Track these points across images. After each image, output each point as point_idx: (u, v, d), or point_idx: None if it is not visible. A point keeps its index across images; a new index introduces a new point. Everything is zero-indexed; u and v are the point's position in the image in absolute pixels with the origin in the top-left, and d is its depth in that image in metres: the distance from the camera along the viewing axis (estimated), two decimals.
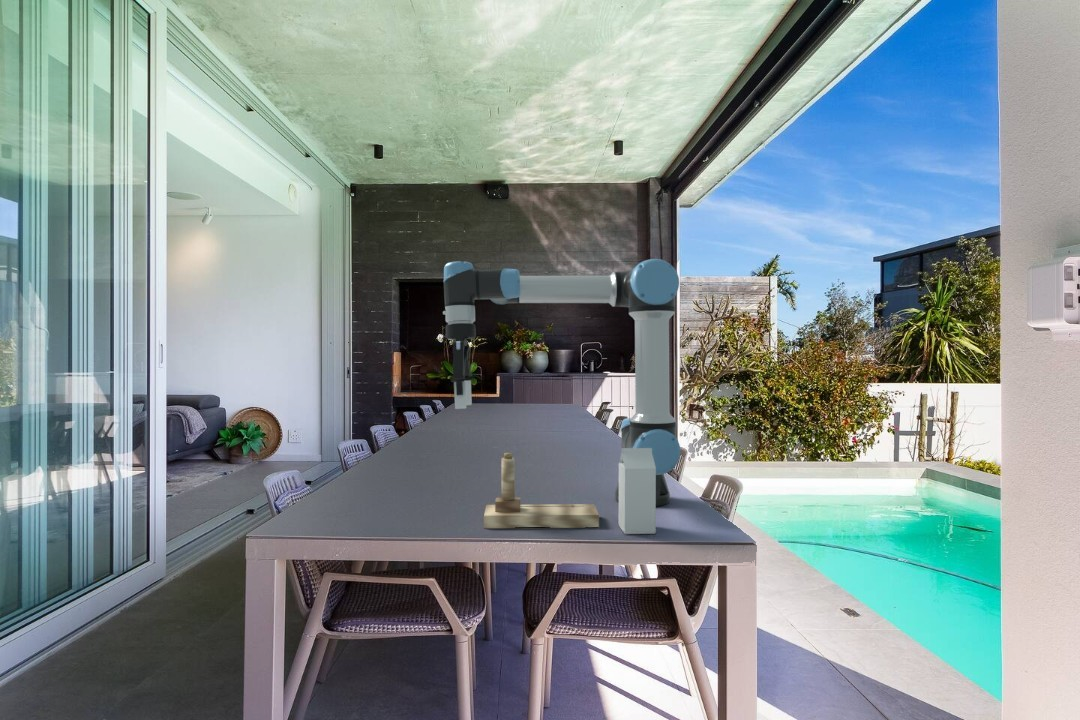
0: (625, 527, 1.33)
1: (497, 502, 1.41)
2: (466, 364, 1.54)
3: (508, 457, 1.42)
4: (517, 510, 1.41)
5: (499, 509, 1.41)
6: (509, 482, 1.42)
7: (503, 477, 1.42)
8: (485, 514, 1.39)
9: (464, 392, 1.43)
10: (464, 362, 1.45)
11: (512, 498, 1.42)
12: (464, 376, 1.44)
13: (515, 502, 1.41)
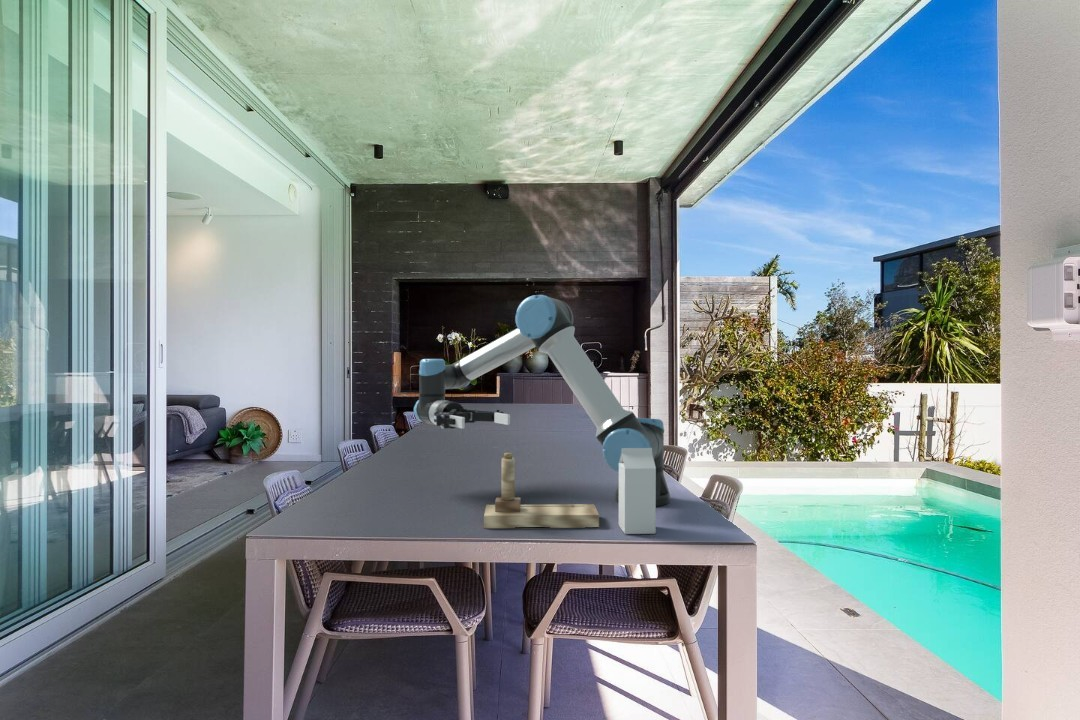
0: (625, 527, 1.33)
1: (497, 502, 1.41)
2: (478, 414, 1.62)
3: (508, 457, 1.42)
4: (517, 510, 1.41)
5: (499, 509, 1.41)
6: (509, 482, 1.42)
7: (503, 477, 1.42)
8: (485, 514, 1.39)
9: (454, 417, 1.50)
10: None
11: (512, 498, 1.42)
12: (448, 415, 1.53)
13: (515, 502, 1.41)
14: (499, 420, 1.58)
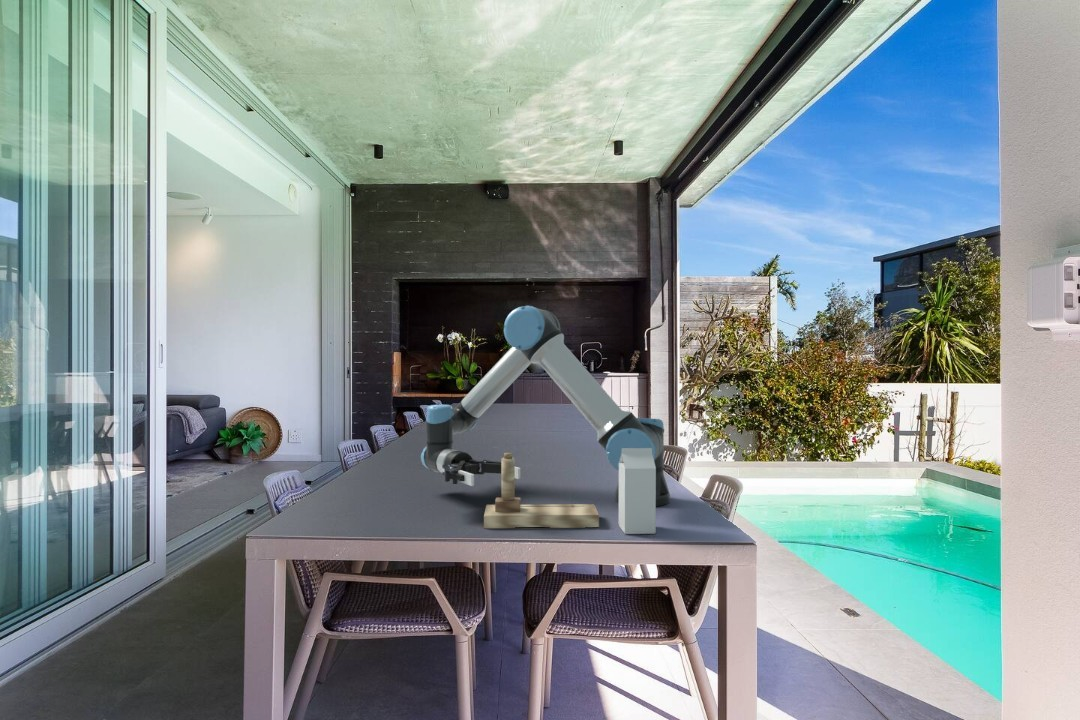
0: (625, 527, 1.33)
1: (497, 502, 1.41)
2: (487, 465, 1.57)
3: (508, 457, 1.42)
4: (517, 510, 1.41)
5: (499, 509, 1.41)
6: (509, 482, 1.42)
7: (503, 477, 1.42)
8: (485, 514, 1.39)
9: (463, 473, 1.45)
10: (456, 467, 1.52)
11: (512, 498, 1.42)
12: (457, 470, 1.49)
13: (515, 502, 1.41)
14: None
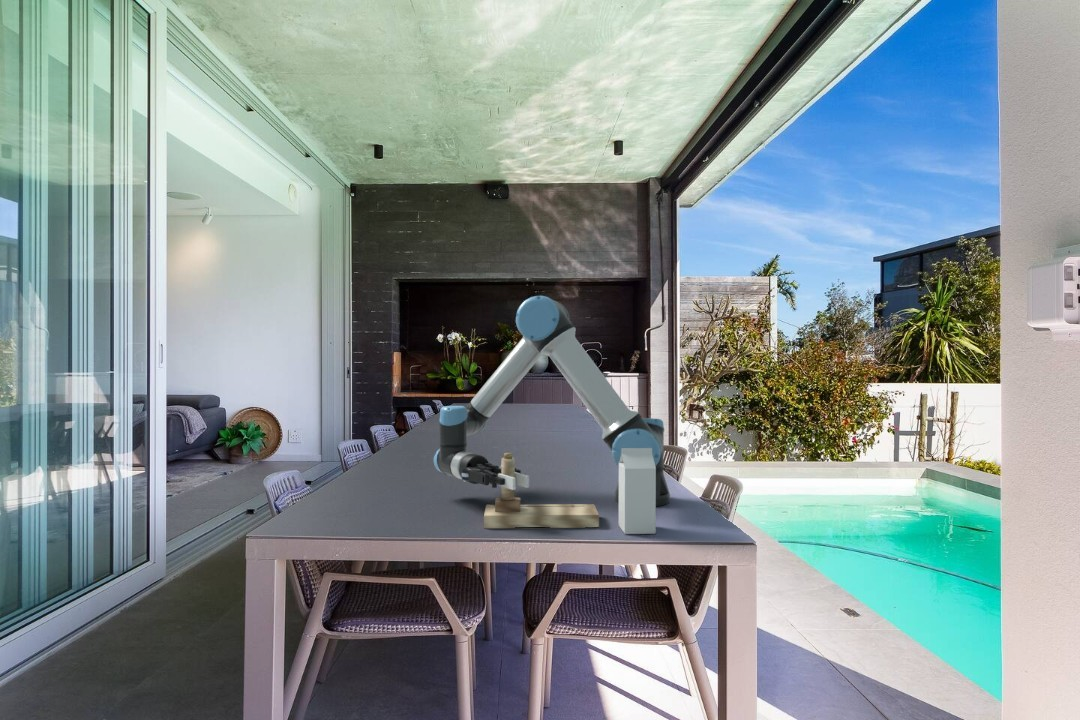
0: (625, 527, 1.33)
1: (497, 502, 1.41)
2: (498, 471, 1.49)
3: (508, 457, 1.42)
4: (517, 510, 1.41)
5: (499, 509, 1.41)
6: None
7: None
8: (485, 514, 1.39)
9: (503, 476, 1.40)
10: (484, 471, 1.47)
11: (512, 498, 1.42)
12: (494, 473, 1.44)
13: (515, 502, 1.41)
14: (517, 482, 1.43)
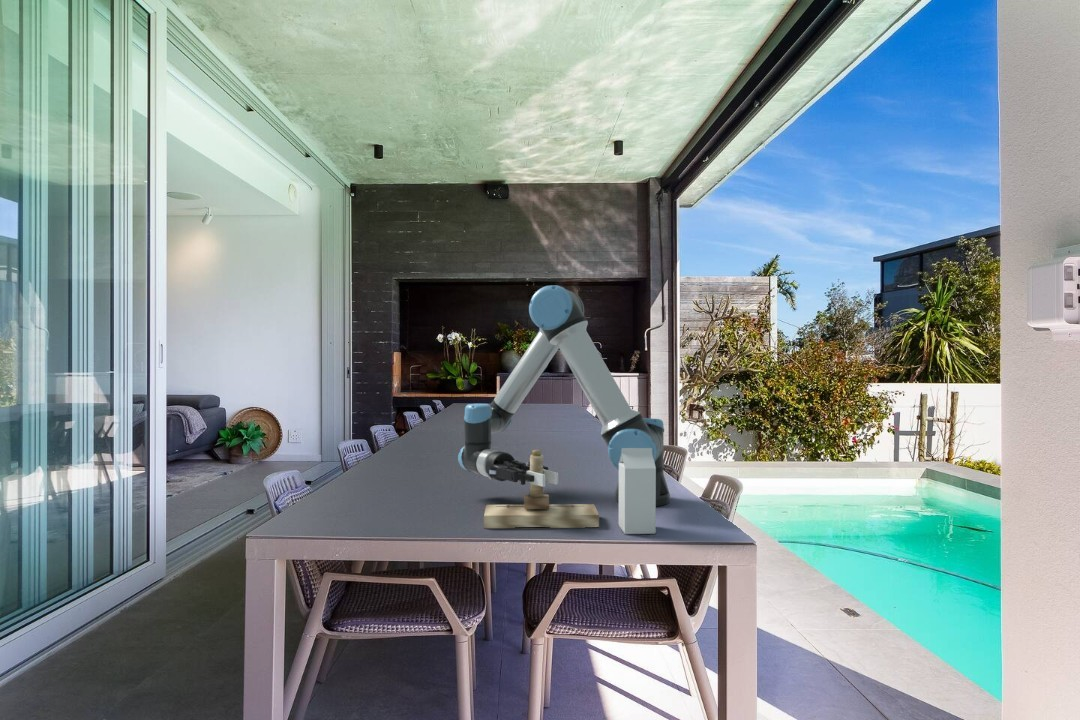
0: (625, 527, 1.33)
1: (526, 499, 1.42)
2: (525, 468, 1.50)
3: (537, 454, 1.43)
4: (546, 507, 1.42)
5: (528, 506, 1.42)
6: None
7: None
8: (485, 514, 1.39)
9: (532, 473, 1.41)
10: (512, 468, 1.47)
11: (541, 495, 1.43)
12: (522, 470, 1.45)
13: (544, 499, 1.42)
14: (545, 478, 1.43)
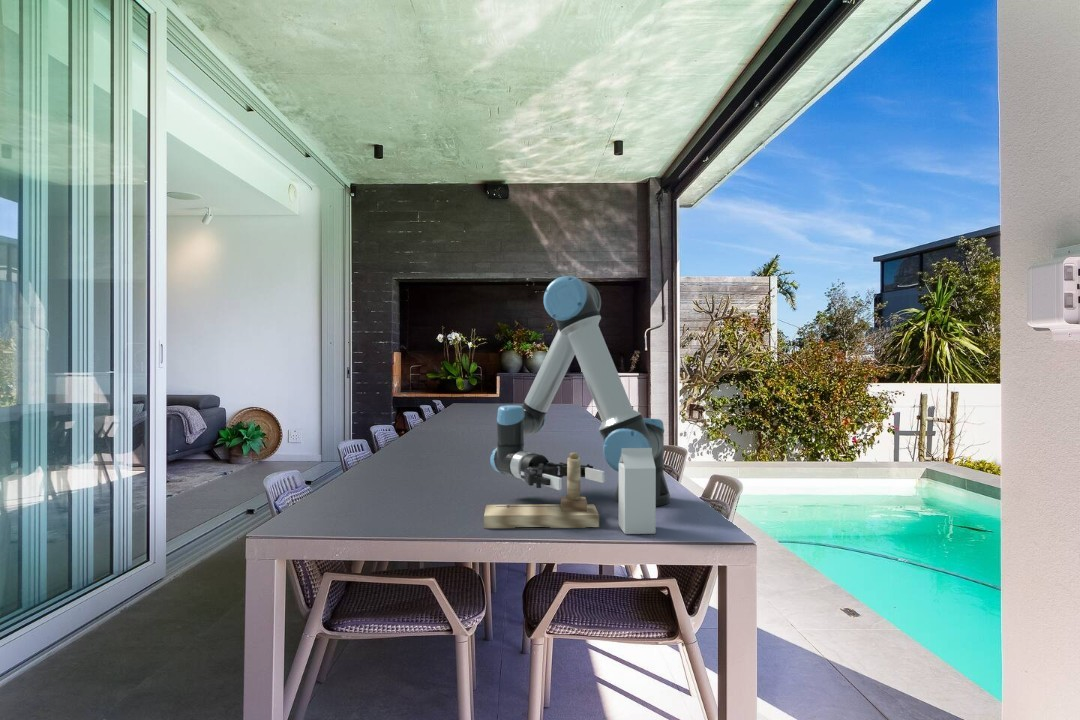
0: (625, 527, 1.33)
1: (564, 502, 1.42)
2: (566, 468, 1.52)
3: (574, 457, 1.42)
4: (584, 510, 1.42)
5: (566, 509, 1.42)
6: (575, 482, 1.42)
7: (569, 477, 1.42)
8: (485, 514, 1.39)
9: (548, 476, 1.40)
10: (537, 470, 1.47)
11: (578, 498, 1.42)
12: (540, 473, 1.43)
13: (582, 502, 1.42)
14: (592, 477, 1.48)
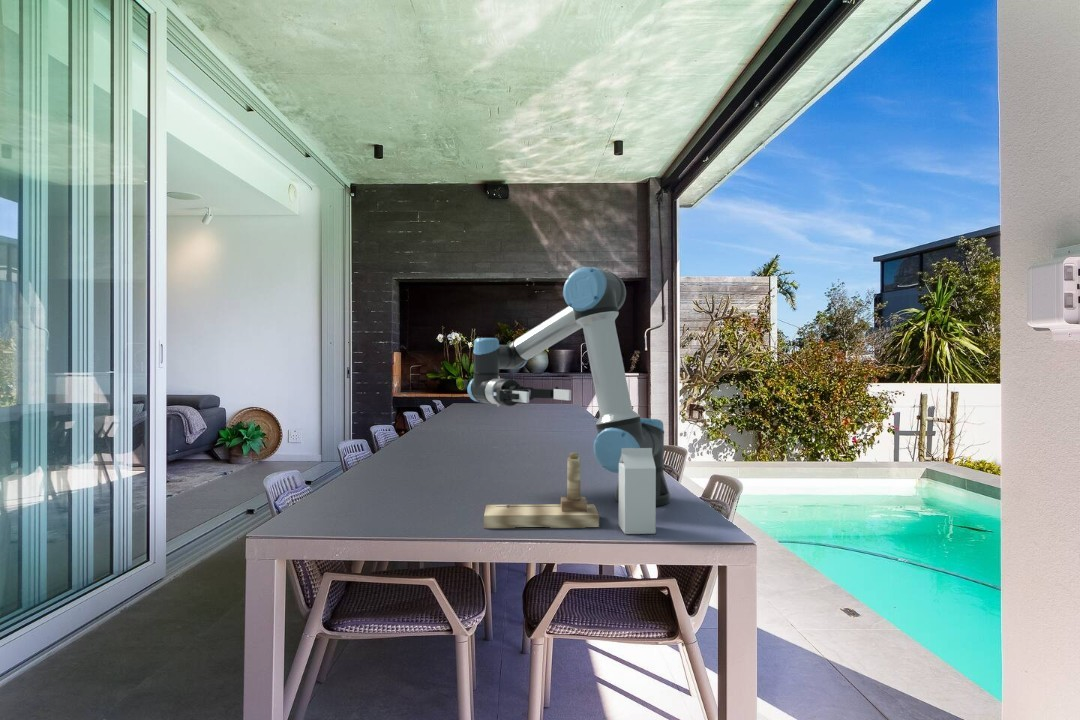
0: (625, 527, 1.33)
1: (564, 502, 1.42)
2: (536, 391, 1.62)
3: (574, 457, 1.42)
4: (584, 510, 1.42)
5: (566, 509, 1.42)
6: (575, 482, 1.42)
7: (569, 477, 1.42)
8: (485, 514, 1.39)
9: (517, 392, 1.50)
10: None
11: (578, 498, 1.42)
12: (510, 391, 1.53)
13: (582, 502, 1.42)
14: (559, 396, 1.58)
